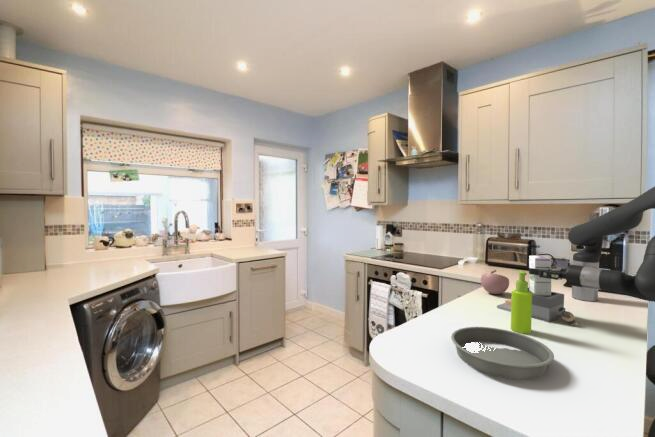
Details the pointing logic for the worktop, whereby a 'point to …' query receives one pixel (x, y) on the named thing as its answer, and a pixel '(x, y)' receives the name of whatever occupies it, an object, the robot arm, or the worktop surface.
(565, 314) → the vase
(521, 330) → the soap dispenser
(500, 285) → the pink apple
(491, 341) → the cake pan
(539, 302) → the socket
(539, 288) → the syrup box
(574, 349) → the worktop surface
